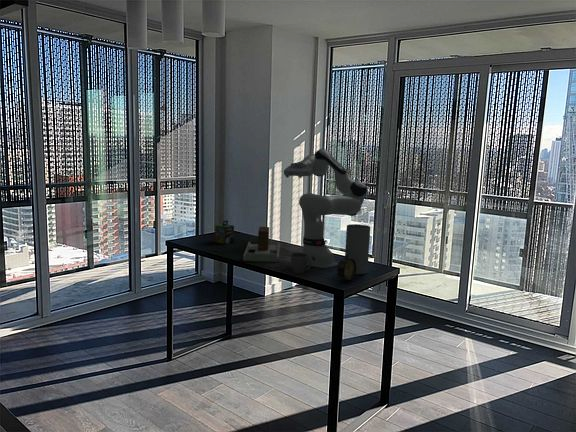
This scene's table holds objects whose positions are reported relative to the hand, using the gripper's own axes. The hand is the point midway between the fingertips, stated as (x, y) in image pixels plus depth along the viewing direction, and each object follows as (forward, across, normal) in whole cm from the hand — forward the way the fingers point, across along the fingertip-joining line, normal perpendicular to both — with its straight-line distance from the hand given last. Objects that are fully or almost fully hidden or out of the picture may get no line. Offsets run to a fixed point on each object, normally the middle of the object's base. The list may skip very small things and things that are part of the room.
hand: (292, 176), depth 310 cm
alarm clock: (+62, -60, -28) cm, 91 cm away
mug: (+62, -35, -26) cm, 76 cm away
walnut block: (+35, +9, -33) cm, 49 cm away
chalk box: (+35, +42, -33) cm, 63 cm away
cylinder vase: (+44, -57, -35) cm, 80 cm away
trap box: (+43, +5, -32) cm, 54 cm away
